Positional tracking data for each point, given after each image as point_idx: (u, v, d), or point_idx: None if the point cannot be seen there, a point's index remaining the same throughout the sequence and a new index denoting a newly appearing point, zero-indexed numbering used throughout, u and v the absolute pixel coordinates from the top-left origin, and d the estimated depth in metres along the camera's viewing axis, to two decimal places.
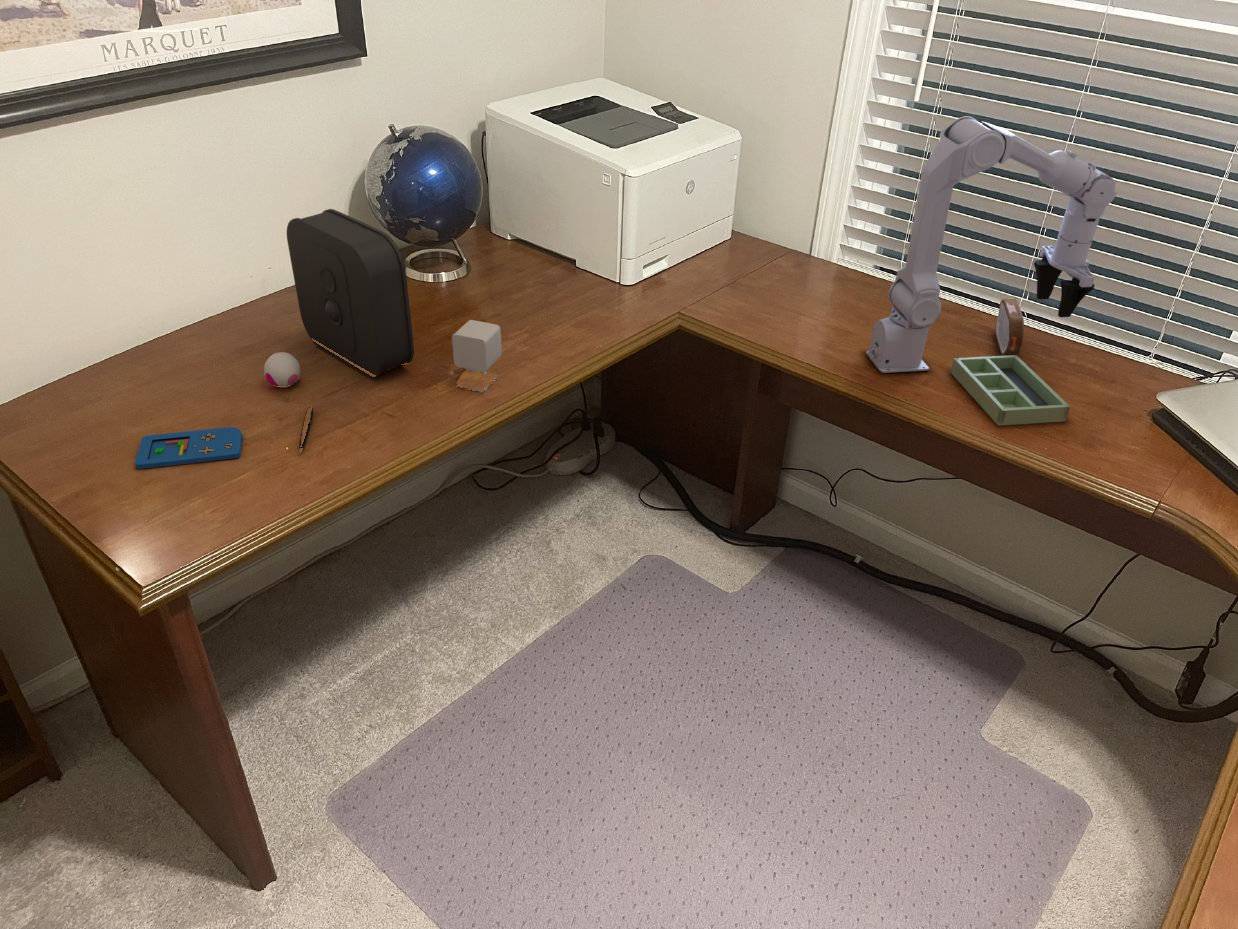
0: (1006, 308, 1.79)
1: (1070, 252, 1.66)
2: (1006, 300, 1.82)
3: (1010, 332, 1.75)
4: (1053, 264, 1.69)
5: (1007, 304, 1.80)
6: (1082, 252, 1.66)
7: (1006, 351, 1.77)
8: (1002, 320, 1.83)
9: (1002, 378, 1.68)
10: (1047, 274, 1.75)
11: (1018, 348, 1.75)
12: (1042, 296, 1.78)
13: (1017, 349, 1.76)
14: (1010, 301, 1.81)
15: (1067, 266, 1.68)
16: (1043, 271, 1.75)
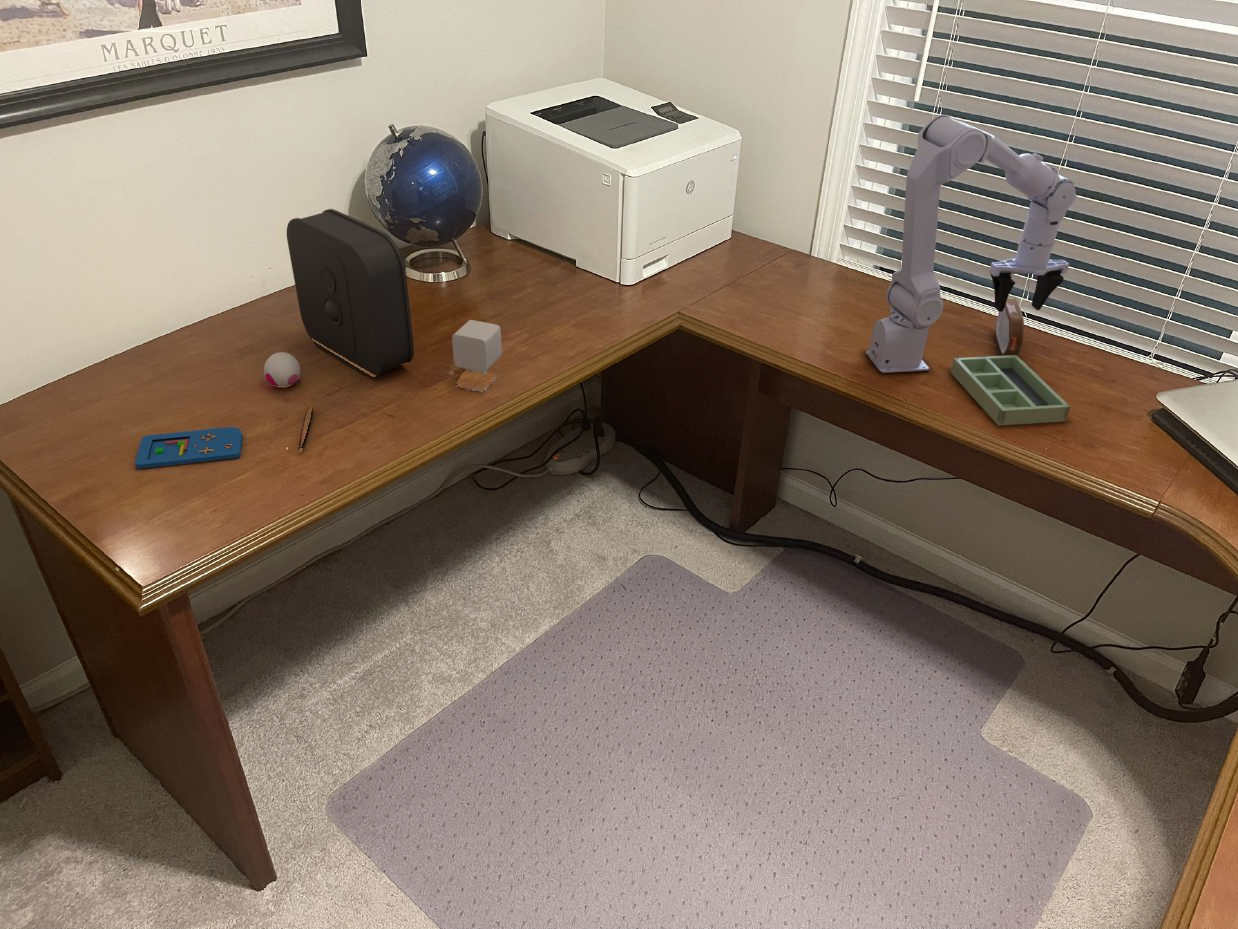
0: (1006, 308, 1.79)
1: (1018, 246, 1.73)
2: None
3: (1010, 332, 1.75)
4: None
5: (1007, 304, 1.80)
6: (1021, 250, 1.71)
7: (1006, 351, 1.77)
8: (1002, 320, 1.83)
9: (1002, 378, 1.68)
10: (1040, 282, 1.77)
11: (1018, 348, 1.75)
12: (1034, 304, 1.79)
13: (1017, 349, 1.76)
14: (1010, 301, 1.81)
15: (1013, 260, 1.74)
16: (1039, 277, 1.77)
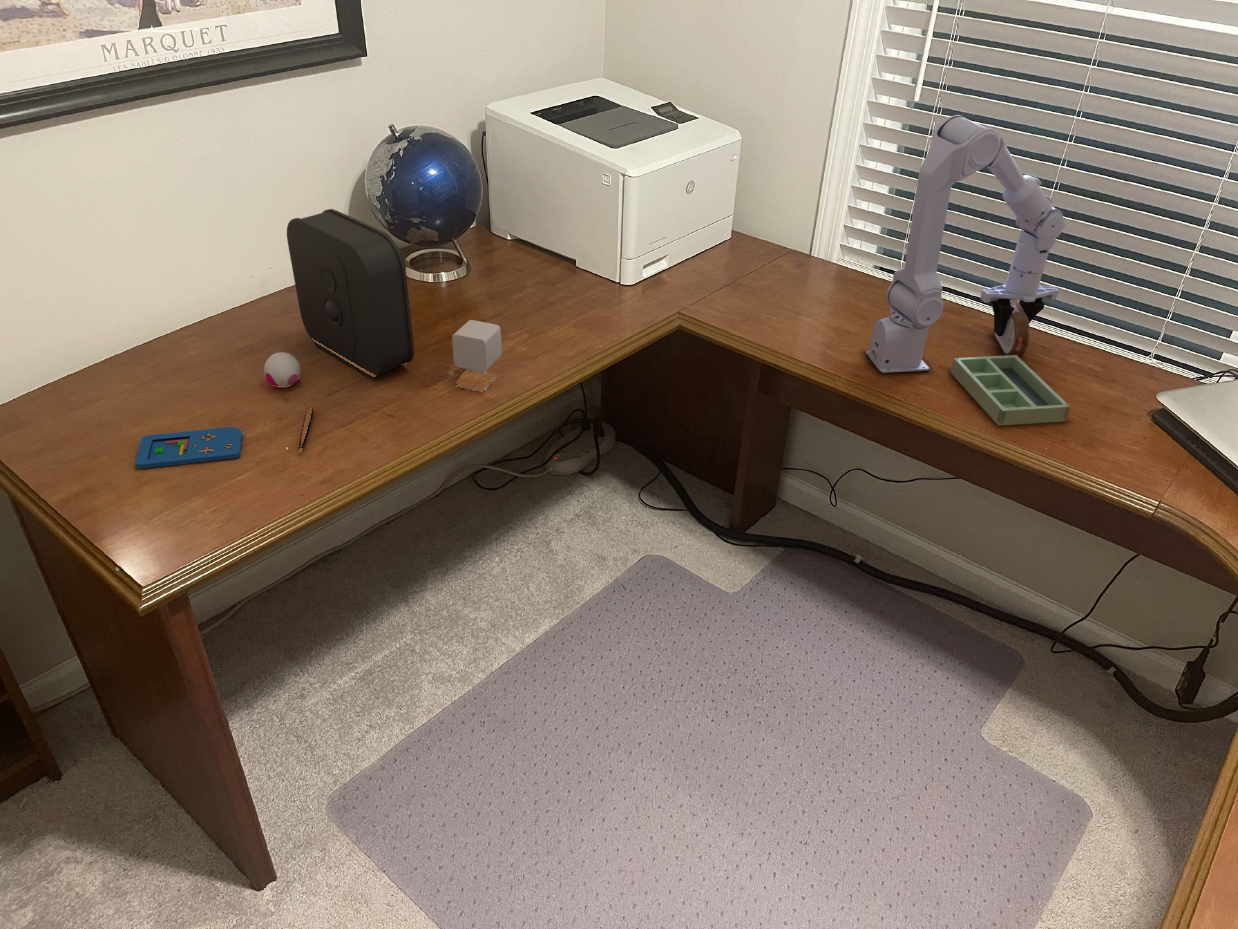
0: None
1: None
2: None
3: (1016, 332, 1.75)
4: None
5: None
6: (1011, 277, 1.75)
7: (1011, 351, 1.76)
8: None
9: (1002, 378, 1.68)
10: (1022, 308, 1.80)
11: (1024, 348, 1.75)
12: None
13: (1022, 349, 1.75)
14: (1010, 301, 1.81)
15: (1004, 286, 1.78)
16: (1021, 303, 1.80)
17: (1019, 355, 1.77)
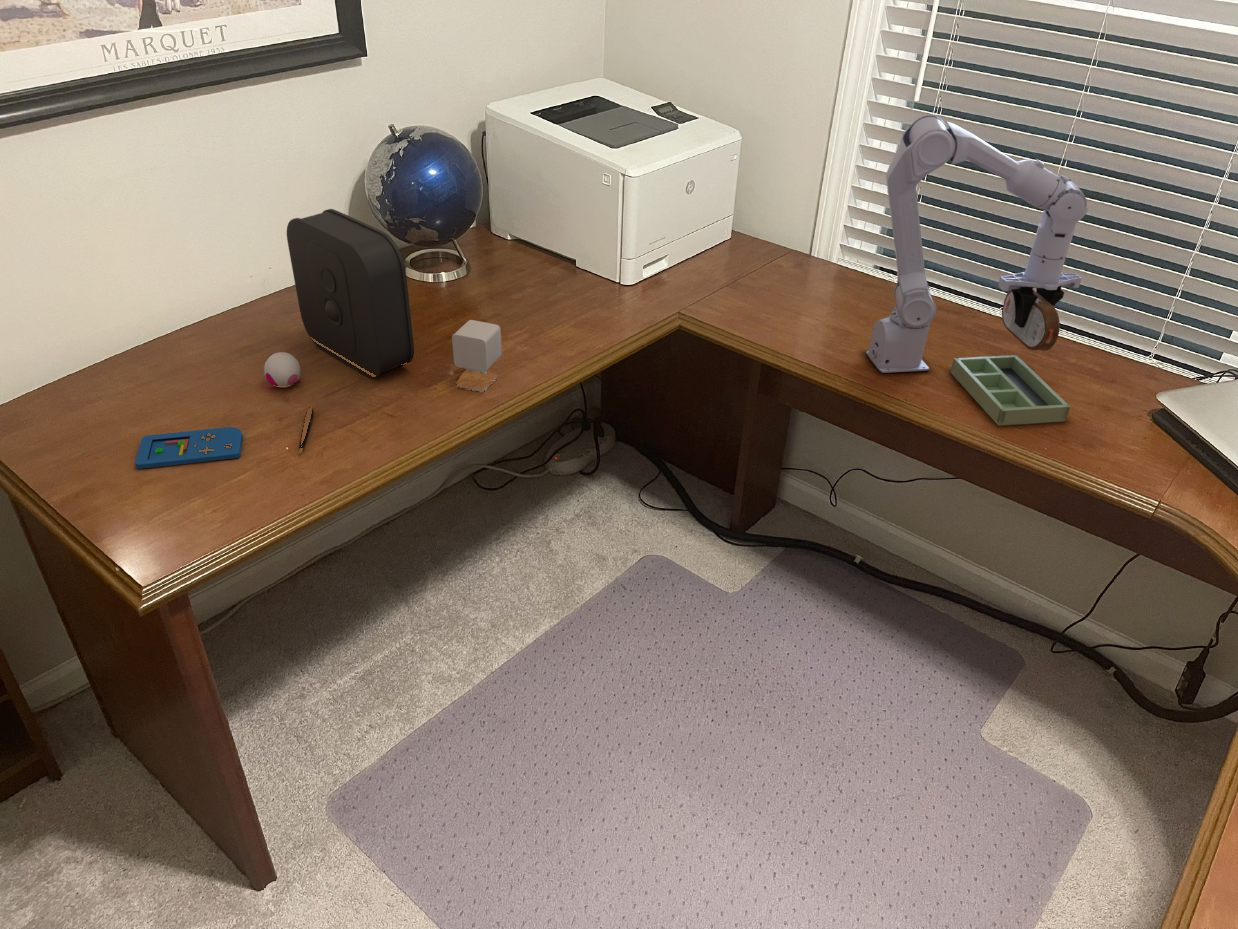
0: None
1: (1028, 260, 1.64)
2: None
3: (1047, 324, 1.62)
4: None
5: None
6: (1031, 264, 1.62)
7: (1040, 344, 1.64)
8: None
9: (1002, 378, 1.68)
10: None
11: (1053, 340, 1.63)
12: None
13: (1052, 341, 1.63)
14: None
15: (1023, 274, 1.65)
16: (1038, 291, 1.68)
17: (1047, 348, 1.65)
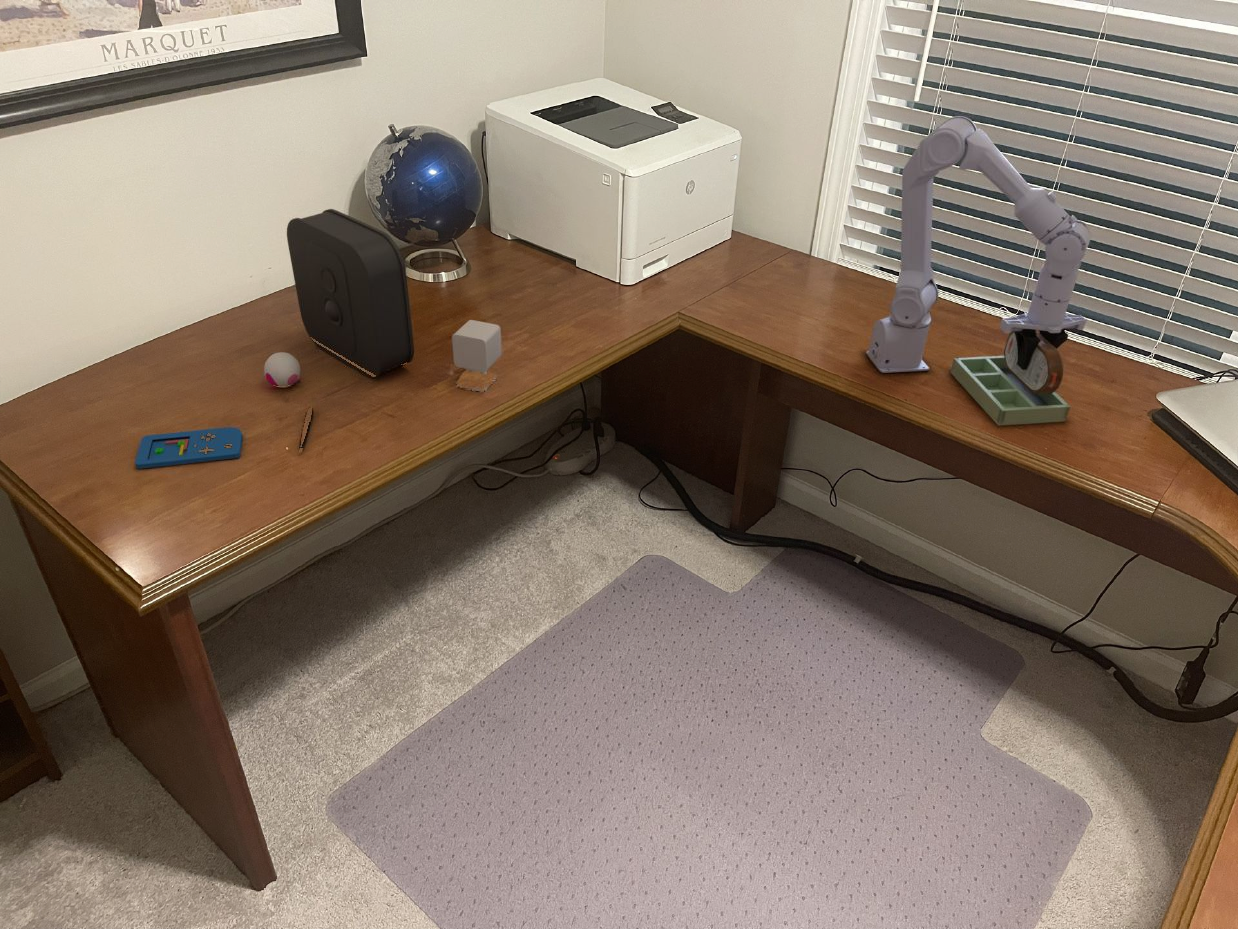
0: None
1: (1031, 301, 1.59)
2: None
3: (1050, 368, 1.57)
4: None
5: None
6: (1034, 306, 1.57)
7: (1043, 388, 1.59)
8: None
9: (1002, 378, 1.68)
10: None
11: (1057, 384, 1.58)
12: None
13: (1056, 385, 1.59)
14: None
15: (1026, 315, 1.60)
16: (1041, 333, 1.63)
17: (1050, 392, 1.60)
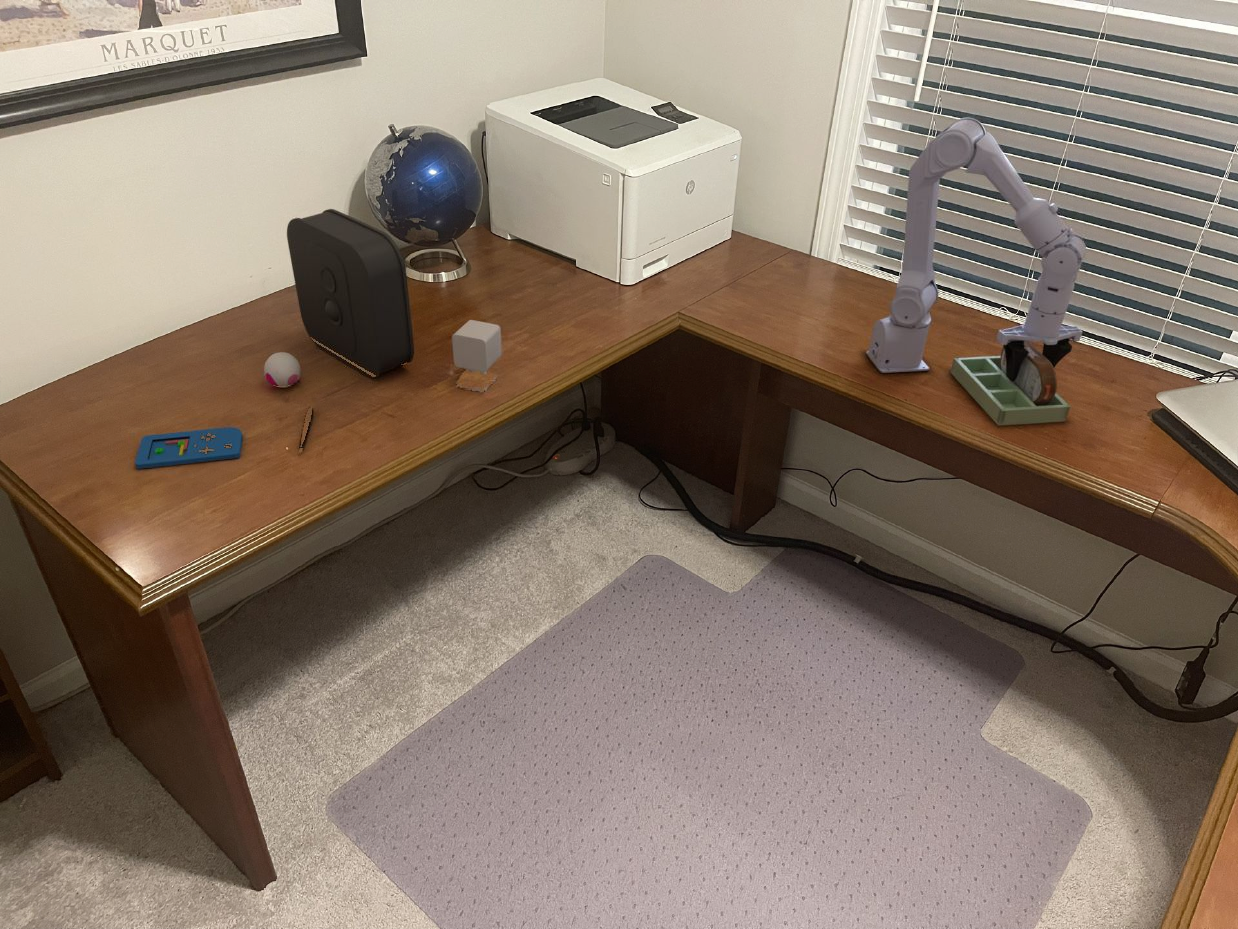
0: None
1: None
2: None
3: (1043, 380, 1.58)
4: None
5: None
6: (1030, 318, 1.59)
7: (1038, 400, 1.60)
8: None
9: (1002, 378, 1.68)
10: (1047, 350, 1.64)
11: (1051, 396, 1.60)
12: None
13: (1050, 396, 1.60)
14: None
15: (1022, 327, 1.62)
16: (1045, 344, 1.65)
17: (1045, 403, 1.62)
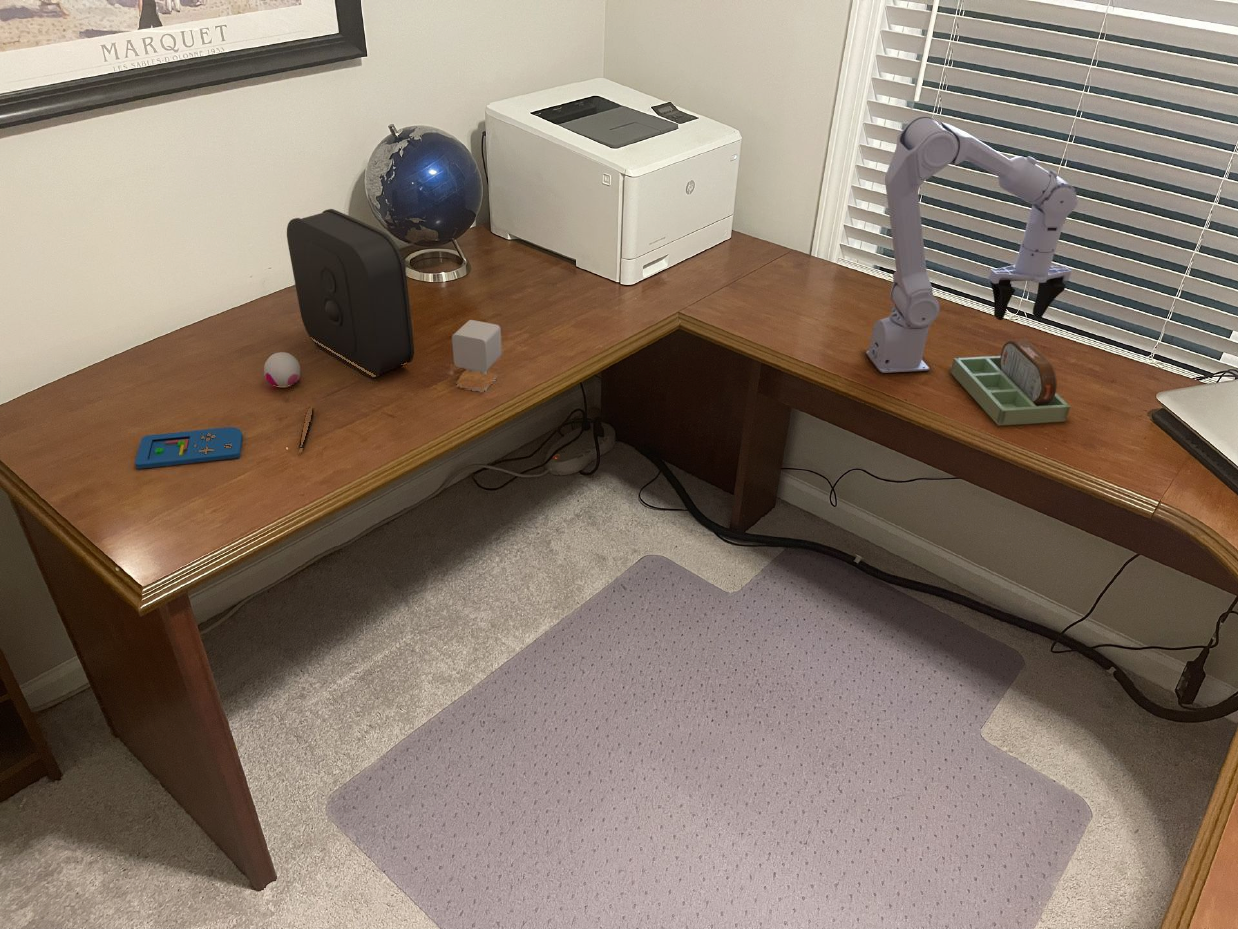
0: (1024, 352, 1.63)
1: None
2: (1017, 342, 1.66)
3: (1043, 380, 1.58)
4: None
5: (1022, 347, 1.64)
6: (1021, 257, 1.66)
7: (1038, 400, 1.60)
8: (1016, 364, 1.66)
9: (1002, 378, 1.68)
10: (1042, 289, 1.71)
11: (1051, 396, 1.60)
12: (1035, 312, 1.73)
13: (1050, 396, 1.60)
14: (1022, 343, 1.65)
15: (1014, 267, 1.69)
16: (1040, 284, 1.72)
17: (1045, 403, 1.62)
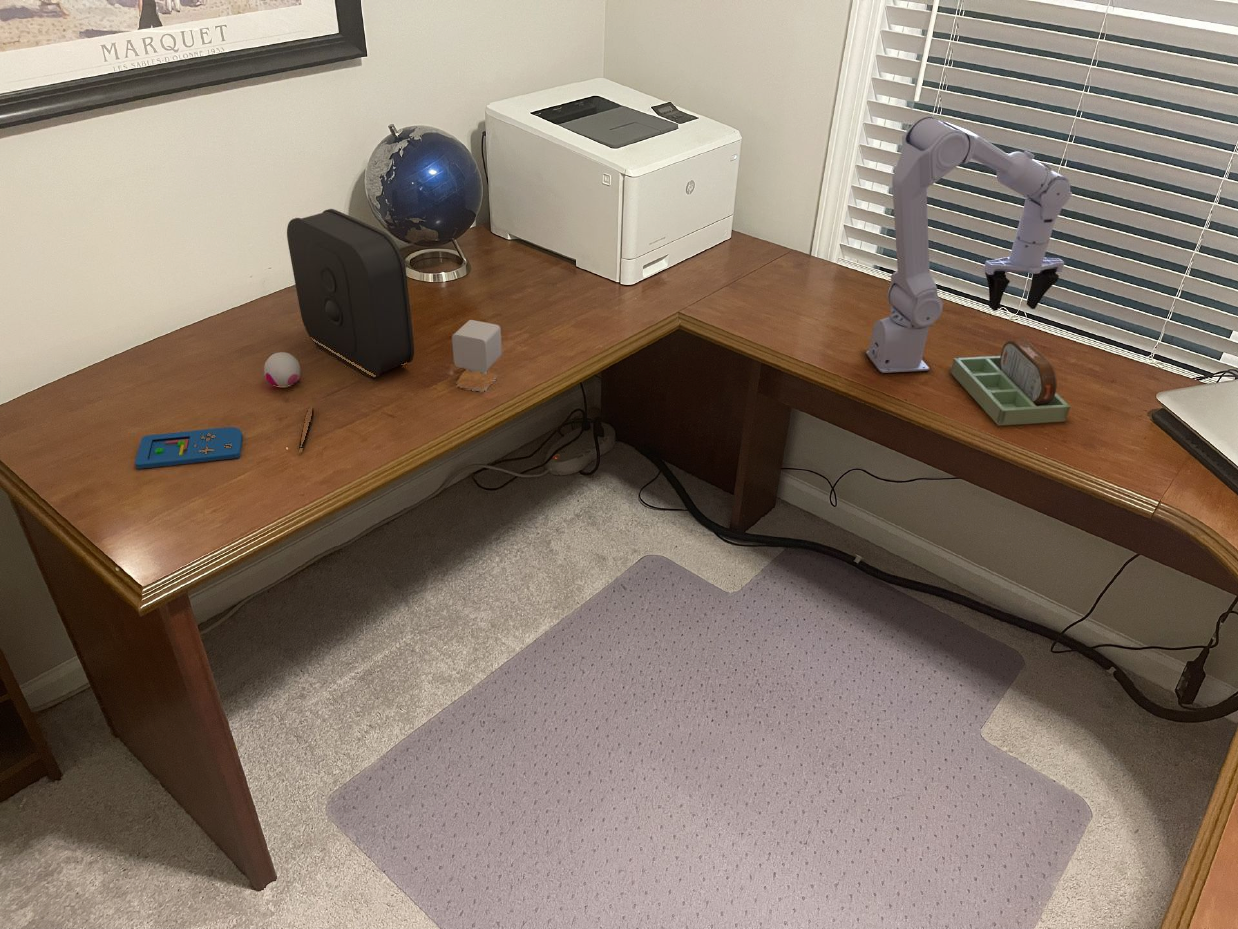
0: (1024, 352, 1.63)
1: (1013, 244, 1.71)
2: (1017, 342, 1.66)
3: (1043, 380, 1.58)
4: None
5: (1022, 347, 1.64)
6: (1015, 248, 1.69)
7: (1038, 400, 1.60)
8: (1016, 364, 1.66)
9: (1002, 378, 1.68)
10: (1036, 280, 1.74)
11: (1051, 396, 1.60)
12: (1029, 303, 1.77)
13: (1050, 396, 1.60)
14: (1022, 343, 1.65)
15: (1008, 258, 1.72)
16: (1034, 275, 1.75)
17: (1045, 403, 1.62)
